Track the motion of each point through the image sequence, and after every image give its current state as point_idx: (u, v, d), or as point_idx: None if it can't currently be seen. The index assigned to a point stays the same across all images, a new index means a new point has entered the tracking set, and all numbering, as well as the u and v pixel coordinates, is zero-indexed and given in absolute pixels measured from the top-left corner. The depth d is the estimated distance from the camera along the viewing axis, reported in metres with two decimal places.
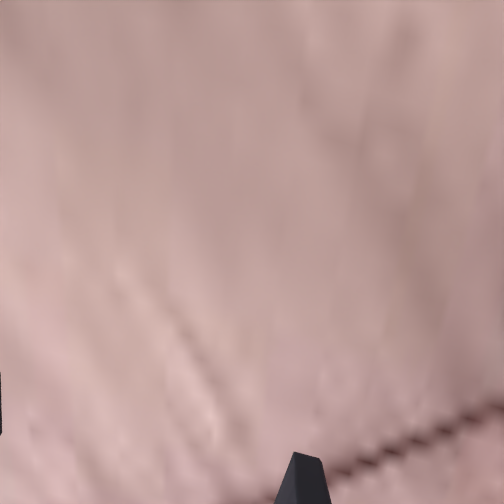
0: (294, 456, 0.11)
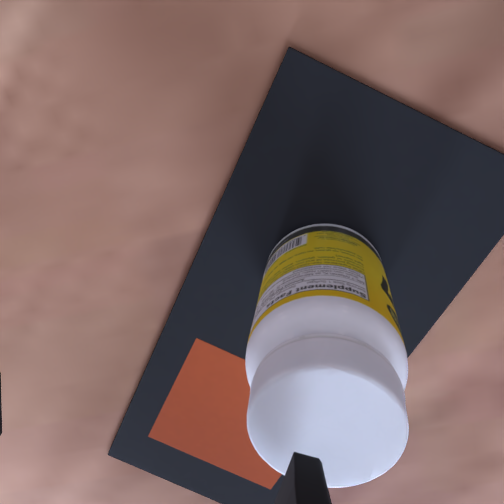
0: (294, 456, 0.11)
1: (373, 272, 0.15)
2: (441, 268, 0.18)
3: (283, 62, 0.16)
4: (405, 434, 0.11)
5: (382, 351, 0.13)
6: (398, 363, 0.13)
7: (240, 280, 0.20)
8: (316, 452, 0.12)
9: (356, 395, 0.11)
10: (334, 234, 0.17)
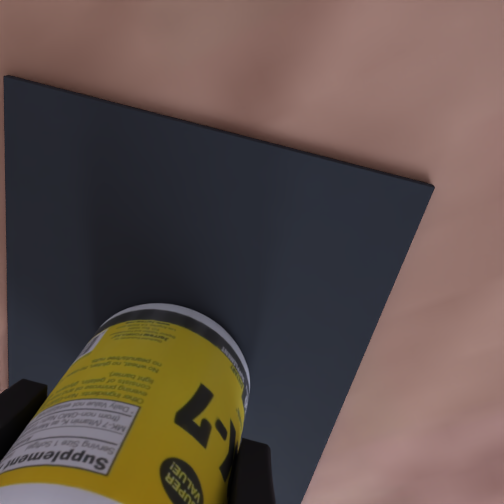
0: (242, 442, 0.11)
1: (170, 390, 0.10)
2: (324, 337, 0.13)
3: (5, 98, 0.11)
4: None
5: None
6: None
7: None
8: None
9: None
10: (139, 326, 0.12)
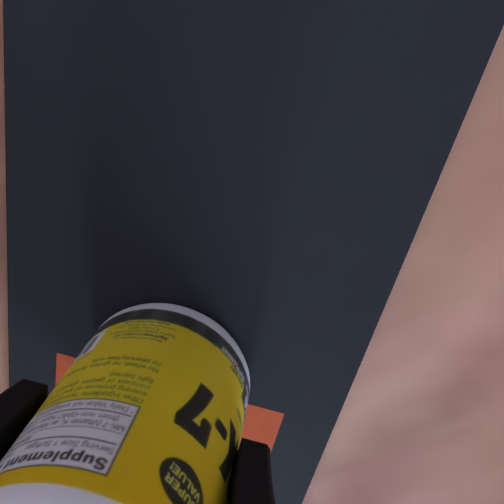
0: (241, 442, 0.11)
1: (170, 390, 0.10)
2: (388, 162, 0.11)
3: None
4: None
5: None
6: None
7: (83, 251, 0.13)
8: None
9: None
10: (139, 326, 0.12)
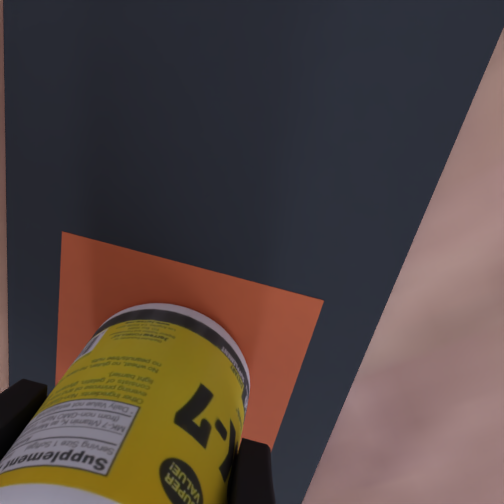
0: (242, 442, 0.11)
1: (170, 390, 0.10)
2: None
3: None
4: None
5: None
6: None
7: (93, 94, 0.11)
8: None
9: None
10: (139, 326, 0.12)
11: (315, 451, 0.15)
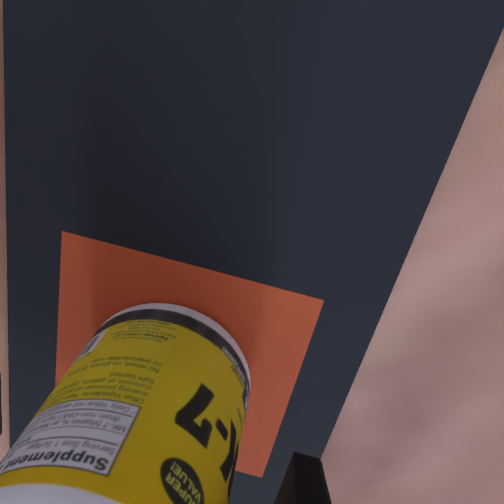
0: (294, 456, 0.11)
1: (171, 390, 0.10)
2: None
3: None
4: None
5: None
6: None
7: (93, 93, 0.11)
8: None
9: None
10: (139, 326, 0.12)
11: (315, 451, 0.15)
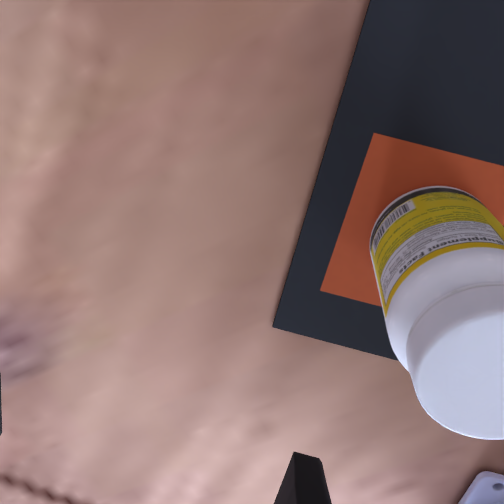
0: (294, 456, 0.11)
1: (495, 222, 0.15)
2: None
3: None
4: None
5: None
6: None
7: (428, 30, 0.16)
8: (491, 403, 0.12)
9: None
10: (441, 194, 0.17)
11: None
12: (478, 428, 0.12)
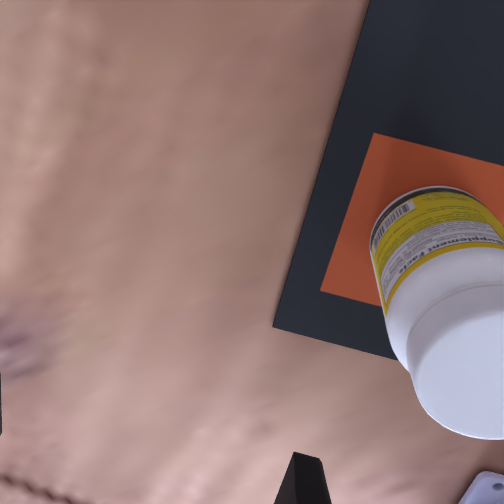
0: (294, 456, 0.11)
1: (495, 222, 0.15)
2: None
3: None
4: None
5: None
6: None
7: (428, 30, 0.16)
8: (491, 403, 0.12)
9: None
10: (441, 194, 0.17)
11: None
12: (478, 428, 0.12)
